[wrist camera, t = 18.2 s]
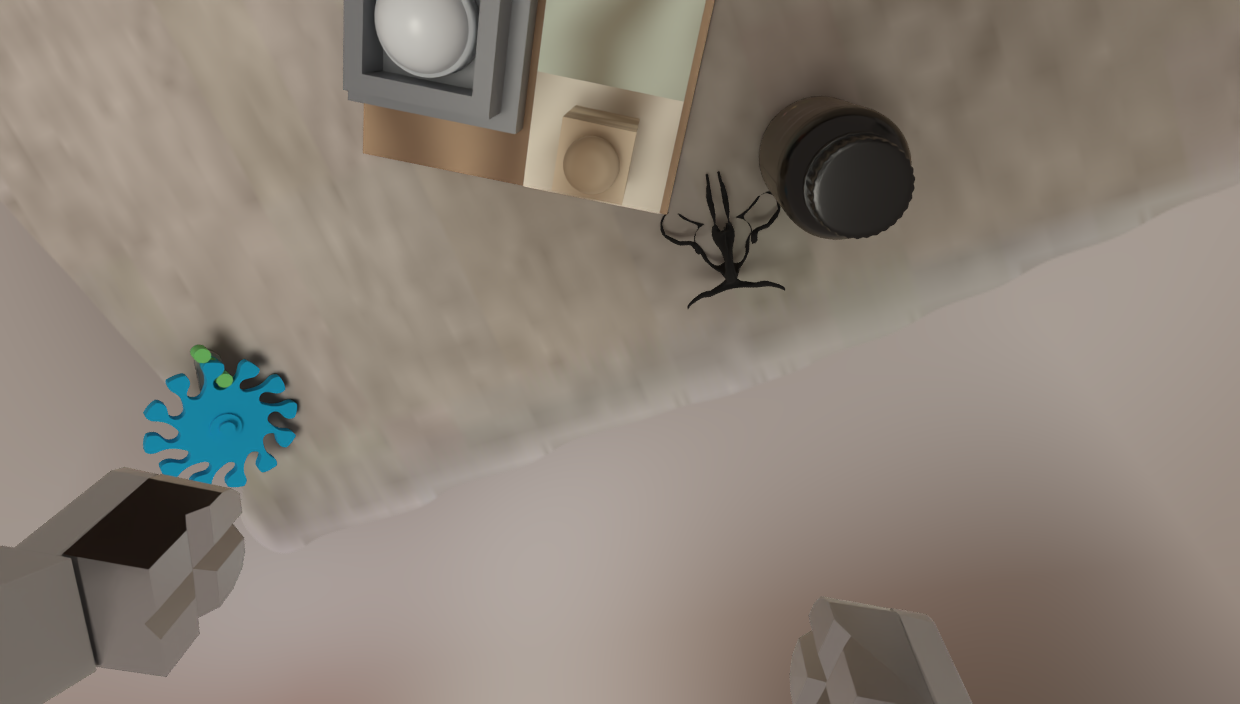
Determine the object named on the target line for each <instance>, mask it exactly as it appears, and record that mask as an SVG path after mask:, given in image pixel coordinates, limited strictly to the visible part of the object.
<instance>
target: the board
mask: <svg viewBox="0 0 1240 704" xmlns="http://www.w3.org/2000/svg"><path fill="white" fill-rule="evenodd" d="M714 1H715V0H538V5H537V14H536V22H535V30H534V39H533V47H532V55H531V64H530V72H529V80H528V89H527V97H526V105H525V114H524V122H523V129H522V130H520V131H519V132H518V133H516V134H512V133H507V132H502V131H497V130H492V129H487V128H482V127H478V126H473V125H468V124H463V123H458V122H453V121H448V120H443V119H438V118H434V117H429V116H424V115H419V114H414V113H409V112H404V111H399V110H395V109H390V108H385V107H380V106H375V105H370V104H365V103H364V128H363V153H365V154H370V155H375V156H380V157H385V158H390V159H394V160H399V161H404V162H409V163H414V164H419V165H424V166H429V167H434V168H439V169H444V170H449V171H454V172H459V173H464V174H469V175H473V176H478V177H483V178H488V179H493V180H498V181H503V182H508V183H513V184H518V185H523V186H524V187H529V188H534V189H539V190H544V191H549V192H554V193H559V194H564V195H568V196H573V197H578V198H583V199H588V200H593V201H598V200H594V199H589V198H584V197H579V196H575V195H570V194H565V193H560V192H556V191H552V184H553V178H554V171H555V165H556V158H557V151H558V145H559V138H560V132H561V125H562V119H563V116H564V115H565V114H566V113H567V112H569V111H570V110H571V109H572V108H573V107H574V106H575V105H578V106H583V107H587V108H592V109H596V110H601V111H606V112H610V113H615V114H620V115H624V116H629V117H634V118H638V119H640V120H639V125H638V130H637V135H636V140H635V145H634V150H633V155H632V160H631V165H630V170H629V175H628V180H627V185H626V189H625V194H624V198H623V203H622V205H618V206H623V207H628V208H633V209H638V210H643V211H647V212H652V213H657V214H659V213H661V214H666V215H667V212H668V207H669V203H670V198H671V194H672V189H673V185H674V181H675V176H676V172H677V167H678V163H679V158H680V154H681V149H682V145H683V140H684V136H685V131H686V127H687V122H688V118H689V113H690V109H691V104H692V100H693V95H694V91H695V86H696V82H697V77H698V73H699V69H700V64H701V60H702V55H703V51H704V46H705V42H706V37H707V33H708V28H709V24H710V19H711V15H712V10H713V6H714ZM598 202H603V201H598ZM603 203H608V202H603ZM608 204H613V203H608ZM613 205H617V204H613Z"/></svg>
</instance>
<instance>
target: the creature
mask: <svg viewBox="0 0 1240 704" xmlns="http://www.w3.org/2000/svg"><path fill="white" fill-rule="evenodd" d="M717 173H718V178H719V182H720V186H721V193H722V199H723V205H724V209H725V212H726V215H727V218H728V223H726V227H724V230H723V231H720V230H719V228H718V226H717V225H716V224H715V209H714V203H713V201H712V195H711V189H710V183H709V177H708V174H706V180H707V187H706V193H707V194H706V198H707V203H708V206H709V210H710V213H711V216H712V218H713V221H714V226H713V227H712V237H713V240H714V242H715V243H716V245H717V246H718V247H719V249H720V250H721V252H722V255H723V258H724V261H725V262H724V263H722V264H721V265H719V266H716V265H714V264H712V263H711V262H710V261H709V260H708V258H707V256H706V254H705V253H704V252H703V250H702V249H701V248H700V247H699V246H698V244H697V243H696V242H695V236H694V242H692V241H678V240H676V239H674V238H671V237H669V236H667V235H665V232H664V229H663V226H662V222H663V220H664V217H665V216H666V214H665V215H664V216H663V218H662V220H661V232H662V235H663V236H664V237H665V238H666V239H668V240H669V241H671V242H673V243H674V244H677V245H691V246H692V247H693V248H694V249H695V252H696V253H697V254H698V255H699V254H701V255H702V257H703V259H704V260H705V261H706V262H707V263H708V264H709V265H710V266H711V267H712V268H714V269H715V270H717V271H718V272H720V273H721V274H722V275H723V276H724V277H725V279H726V280H725V281H724V282H723V283H721V284H720V285H719V286H717V287H715V288H714V289H712V290H711V291H706V292H703V293H701V294H699V295H698V296H697V297H695V298H694V299H693V300H692V301H691V302H690V303H689V305H688V307H687V308H688V309H689V307H690V306H691V305H692V304H693V303H695V302H696V301H698V300H699V299H701V298H704V297H711V296H713V295H715V294H718V293H720V292H722V291H725V290H728V289H733V288H741V287H763V286H772V287H777V288H781V289H783V290H785V288H784V287H783V286H781V285H779V284H776V283H773V282H769V281H760V282H755V283H754V282H747V281H740V280H739V279H737V277H738V273H739V269H740V267H741V266H742V264H743V263H744V261H745V259H746V257H747V255H748V252H749V240H750V235H751V242H752V244H754V243H756V242H757V234H758V231H760V230H762V229H765V228H768V227H769V226H770V225H771V224H772V223H773V222H774V220H775V219H776V218H777V217H778V214H779V212H780V204H779V203H778V201H777V205H778V210H777V211H776V213H775V214H774V215H773V217H772V218H771V219H770V220H769V222H768V223H767V224H765V225H762V226H760V227H757V228H756V229H754V230H753V231H752V229H751V233H750V235H749V237H748V239H747V241H746V246H745V247H746V253H745V256H744V258H743V259H742V261H741V262H739V263H733V254H732V249H733V242H734V236H735V235H734V228H733V226H732V224H731V223H730V222H729V202H728V196H727V191H726V189H725V185H724V183H723V182H722V179H721V176H720V173H719V172H717ZM765 193H768V194H771V195H772V193H771V192H770V191H767V192H765ZM763 194H764V193H763ZM759 197H760V196H758V197H757V198H756V200H755V201H754V202H753V203H752V205H751V206H750V207H749V209H747V210H746V211H745V212H744V213H742V214H741V215H739V216H737V218H741V219H744V215H745V214H746V213H747V212H748V211H749V210H750V209H751V208H752V206H753V205H754V204H755V203H756V202H757V200H758V199H759ZM668 213H669V212H668ZM668 213H667V214H668ZM679 216H680V217H681V218H683V219H684V220H687V221H689V222H691V223H694V224H696V225H698V229H699V228H700V227H701V226H702V225H704V224H700V223H696V222H693V221H690V220H688V219H687V218H685V217H684V216H682V215H681V214H679ZM744 220H745V219H744ZM745 221H746V220H745ZM748 224H749V223H748ZM749 226H750V224H749ZM750 228H751V226H750ZM696 232H697V231H696ZM695 235H696V233H695Z"/></svg>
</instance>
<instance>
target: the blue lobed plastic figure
mask: <svg viewBox="0 0 1240 704" xmlns="http://www.w3.org/2000/svg"><path fill="white" fill-rule="evenodd" d="M190 353H191V356H192V357H193V358H194V359H195V360H194V364H195V369H196V374H197V378H198V383H199V388H200V394H199V395H198V396H196V397H189V396H187V391H188V388H189V386H190V381H189V379H188V378H187V376H186V375H185V374H183V373H181V374H177V375H174V376H172V377H170V378H168V379H166V385H167V387H168V388H169V390H170V391H172V392H174V393H175V394H177V395H178V396H179V397H180V398H181V401H182V404H183V412H182V413H181V414H180V415H178V416H170V415H168V411H167V408H166V406H165V405H164V404H163V402H161V401H159V400H154V401H152V402H151V403H150V404H149V405H148V406H147V408H146V409H145V411H144V412H143V413H144V415H145V417H146V418H147V419H148V420H150V421H159V422H164V423H168V424H170V425H172V426H173V427H175V428H176V429H177V430H178V431H179V433H178V436H177V437H175V438H174V439H170V440H168V439H164V438H163V437H162V436H161V435H159V434H158V433H156V432H149V433H146V434H145V436H144V441H143V449H144V451H145V452H146V453H148V454H154V453H157V452H159V451H162V450H165V449H182V450H187V451H188V455H187V457H185V458H184V459H182V460H176V459H165V460H162V461H161V462H160V463H159V467H160V469H161V471H162V474H164V475H169V476H174V477H177V476H178V475H179V474H180V473H181V472H182V471H183V470H184V469H186V468H187V467H189V466H191V465H194V464H197V463H200V462H209V467H208V468H207V469H206V470H204V471H200V472H197V473H194V474H193V475H192V476H191V477H190V478H189V480H193V481H198V482H203V483H207V484H211V483H212V479H213V477H214V475H215V473H216V472H217V471H218V470H219V469H220V468H221V467H222V466H223V465H225V464H226V463H228V462H234V463H235V466H234V468H233V469H232V470H231V471H229V472H228V473H227V474H226V476H225V483H226V484H227V486H228V487H241V486H244V485H245V484H246V481H247V479H246V476H245V474H244V463H245V460H246V458H247V456H248V454H249V453H251V452H254V451H257V452H259V454H258V457H257V459H256V466H257V467H258V469H259V470H260V471H261V472H266V471H268V470H270V469H272V468H274V467H275V466H277V461H276V459H275V458H274V457H273V456H272V455H271V454H269V453H267V452H266V450H265V448H264V444H263V438H264V436H265V435H266V434H268V433H274V435H275V440H276V441H277V443H278V444H279V445H280V446H282V447H287V446H289V445H290V444H291V442H292V441H293V440H294V438H295V436H296V435H295V434H294V433H293V432H292V431H291V430H290V429H288V428H278V427H275V426H273V425H272V424H270V423H269V422H268V419H267V418H268V415H269V414H270V413H272V412H275V411H276V412H279V413H281V414H282V415H283V416H284V417H285V418H288V419H291V418H294V417H295V415H296V412H297V404H296V403H295V402H294V401H292V400H284V401H282V402H279V403H264V402H260V401H259V397H260V395H261V394H262V393H264V392H271V393H276V394H277V393H281V392H283V391H284V390H285V385H284V383H283V381H282V379H281V378H280V377H279V376H278V375H277V374H273V375H270V376H269V377H268V378H267V379H266V380H265V381H264V382H263V383H261V384H260V385H258V386H256V387H253V388H249V389H240V383H241V382H242V381H243V380H245V379H249V378H253V377H255V376H256V375H258V373H259V371H260V369H259V368H258V367H257V366H256V365H255V364H253V363H252V362H250V361H248V360H246V359H243V360H241V361H240V362H239V363H238V365H237V370H236V373H235V375H234V376H233V378H232V376H231V375H230V374H229V373H228V372H227V371H225V370H224V365H223V363H222V360H221V358H220V357H219V355H218V354H216V353H215V352H213V351H209V350H208V349H207V348H206V347H204V346H203V345H195V346H194V347H192V349H191V351H190Z"/></svg>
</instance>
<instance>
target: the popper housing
mask: <svg viewBox="0 0 1240 704" xmlns="http://www.w3.org/2000/svg"><path fill="white" fill-rule="evenodd" d="M474 1H475V3H476V5H477V8H478V11H479V23H478V34H477V46H476V54H475V56H474V58H473V59H472V60H471V62H470V63H469V64H468V65H467V66H466V67H464V68H463V69H461V70H460V71H458V72H456V73H453V74H450V75H445V76H440V77H434V78H425V77H419V76H416V75H413V74H411V73H408V72H407V71H405V70H403V69H402V68H400V67H399V66H398V65H397V64H395V63H394V62H393V61H392V60H391V58H390V57H389V56H388V55H387V53H386V52H385V50H384V49H383V47H382V45H381V43H380V41H379V38H378V35H377V31H376V27H375V16H374V14H375V5H376V0H344V38H343V90H347V91H348V100H351V101H355V102H360V103H365V104H370V105H375V106H380V107H385V108H390V109H395V110H399V111H404V112H409V113H414V114H419V115H424V116H429V117H434V118H438V119H443V120H448V121H453V122H458V123H463V124H468V125H473V126H478V127H482V128H487V129H492V130H497V131H502V132H507V133H512V134H516V133H518V132H519V131H520V130H522V129H523V122H524V114H525V105H526V97H527V89H528V80H529V72H530V64H531V55H532V47H533V39H534V30H535V22H536V14H537V5H538V0H474Z"/></svg>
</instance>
